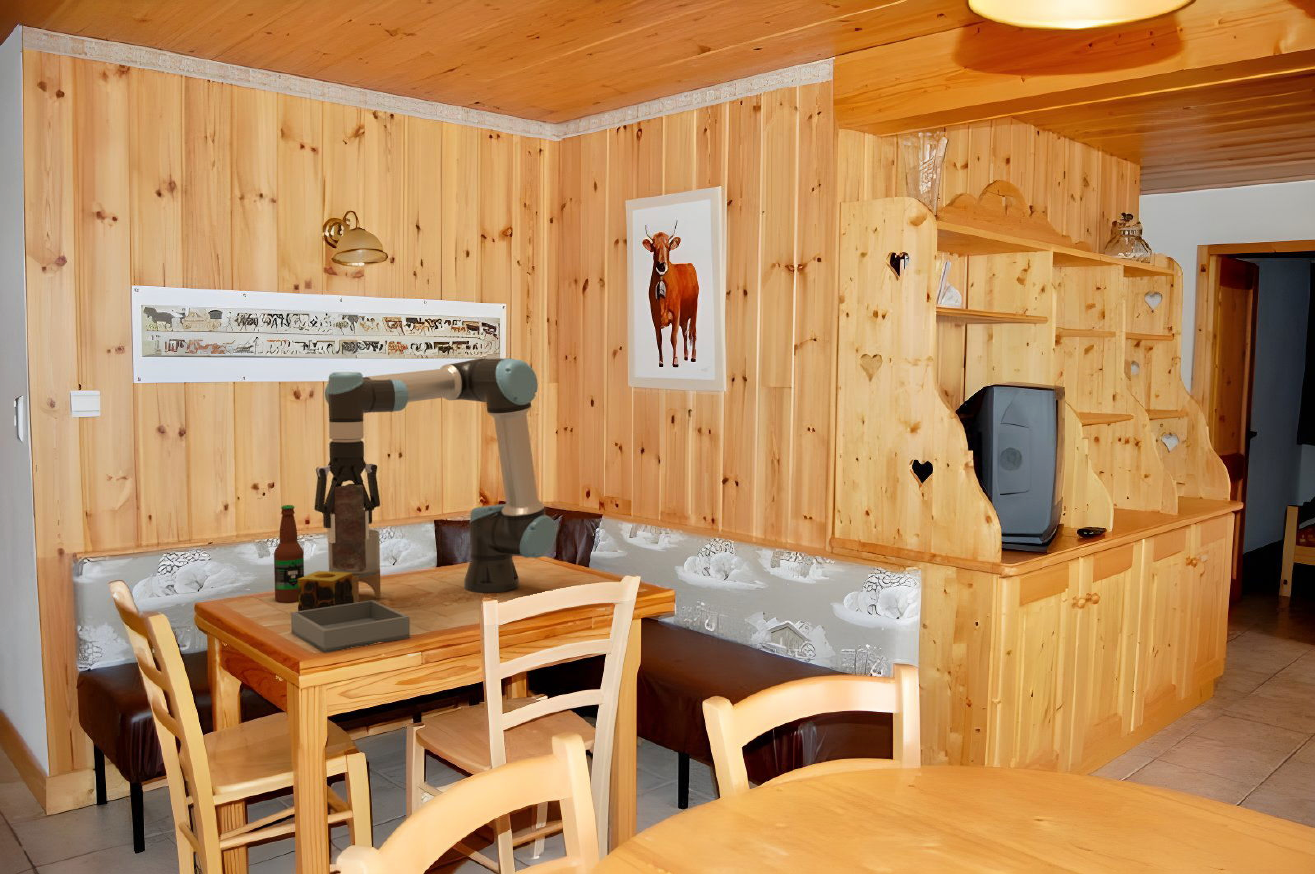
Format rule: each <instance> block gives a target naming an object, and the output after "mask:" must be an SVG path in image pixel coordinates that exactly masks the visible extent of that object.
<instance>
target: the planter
mask: <svg viewBox="0 0 1315 874" xmlns="http://www.w3.org/2000/svg"><path fill="white" fill-rule="evenodd" d="M380 537H381V536H380V531H379V530H377V529H373V528H369V539H365V550H366V569H365V570H364V571H362V572H356V571H349V570H339V569H336V568H334V567H333V562H332V543H330V542H328V541H327V547H328V549H327V552H328V553H327V554H328V571H330V572H349V573H353V578H352V580H353V582H352V585H353V596H354V598H353V599H354V603H356V602H360V586H359V585H360V584H359V583H360V582H361V583H365V584H366V585H368V586H369V587H370V588H371V589H372V590H373V592H374V595H375V596H374V598H375V599H381V597H382V596H381V554H380V553H381V552H380V551H381V550H380V549H381V548H380V547H381V546H380V545H381V543H380Z"/></svg>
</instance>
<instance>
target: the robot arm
mask: <svg viewBox="0 0 1315 874" xmlns="http://www.w3.org/2000/svg"><path fill="white" fill-rule="evenodd" d="M538 386H539V384H538V378H537V374H536V372H535V371H534V369H533V368H532V366H531V365H530V364H528V363H527V362H526V361H524V360H522V359H515V358H510V357H509V358H506V357H505V358H485V357H484V358H476V359H471V360H470V359H469V360H464V361H461V362H455V363H447V364H443V365H442V366H441V367H440V368H438V369H437V368H436V369H435V368H434V369H429V370H428V369H426V370H419V371H418V370H415V371H408V372H399V373H387V374H379V375H370V376H364V375H363V374H362V373H361V372H359V371H345V372H344V371H335V372H333V371H332V373H330V374H329V376H328V382H327V384H326V387H325V389H324V398H325V401H326V403H327V404H328V435H329V438H328V439H330V440H331V441H329V443H328V445H329V447H328V449H329V452H328V453H329V462H328V464H327V465H326V466H322V467H319V466H318V467H316V469H315V472H316V477H317V481H316V489H315V490H316V491H315V500H314V510H315V511H316V512H318V513H319V512H320V513H322V515H323V517H322V520H323V521H322V523H323V528H325V529H327V534H326V537H327V543H328V542H330V543H335V514H332V513H331V512H332V509H333V506H334V504H335V487H338V486H343V483H345V482H348V481H350V482H352V484H354V485H363V496H364V526H365V539H369V529H370V525H372V523H373V511H375V508H379V507H380V505H381V500H380V492H379V486H378V479H377V471H378V465H377V464H374V463H366V460H365V442H364V441H363V440H362V439H364V438H365V437H364V435H365V430H364V429H365V428H364V426H365V425H364V414H367V413H394V412H400V411H402V410H404V409H405V408H406V407H407V405H408V403H412V402H420V401H421V402H422V401H427V400H435V399H443V398H444V399H445V400H447V401H457V400H458V401H460V400H462V401H472V402H479V403H480V402H481V403H485V405H486V412H487V414H488V415H490V416H491V417H492V418H493V420H494V428H495V434H496V442H497V450H498V456H499V462H500V469H501V477H502V485H503V491H504V498H505V503H504V504H503V503H502V504H492V505H491V504H490V505H483V506H479V507H478V506H477V507H474V508H473V509H472V510H471V511H470V513H469V514H470V516H469V517H470V518H469V520H470V521H469V544H470V545H469V546H470V547H469V549H470V550H469V551H470V553H469V554H470V561H469V564H468V566H467V570H466V574H465V577H464V589H465V590H466V591H469V592H475V593H483V594H484V593H485V594H489V593H490V594H491V593H493V594H494V593H495V594H496V593H504V592H511V591H513V590H517V589H518V588H519V587H520V579H519V576H518V571H517V569H516V566H515V563H514V559H513V555H514V556H519V557H523V558H526V559H528V558H529V559H530V558H533V559H536V558H537V559H539V558H542V557H543V556H545V555H546V554H548V553H549V551H551V549H552V547H553V545H554V544H555V541H556V538H557V524H556V521H555V520H554V519H553V518H551V516H549V515H546V508H545V504H544V503H543V502H542V501H540V500H539V498H538V491H537V483H536V476H535V475H536V474H535V467H534V461H533V460H534V459H533V453H532V445H531V436H530V431H529V422H528V412H529V411H530V410H531V408H532V401H533V400H534V399H535V398H536V393H537V392H538V388H539V387H538ZM364 470H365V473H366V478H367V484H368V491H369V494H368V491H367V488H366V487H365V484H364V479H363V477H362V473H363V472H364ZM329 472H330V473H331V474H332V479H331V480H330V481H331V485H330V488H329V490H328V493H327V492H326V491H327V483H328V476H329ZM331 488H334V489H333V490H331ZM326 493H327V494H326ZM326 495H327V496H326ZM487 592H488V593H487Z"/></svg>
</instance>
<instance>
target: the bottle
mask: <svg viewBox="0 0 1315 874" xmlns="http://www.w3.org/2000/svg"><path fill="white" fill-rule="evenodd" d="M280 509H281V513H280V514H281V515H282V516H281V521H280V524H279V525H280V526H279V542H278V545H277V547H276V548H275V549H274V553H273V565H274V568H273V569H274V573H273V574H274V599H275V601H276V602H277V603H283V604H290V603H299V594H298V592H299V585H298V579H299V578H302V577H304V576H305V561H304V559H305V556H304V555H305V554H304V549H303V548H302V546H301V544H300V543H299V541H298V529H297V528H298V527H297V522H296V517H295V516H294V514H295V513H296V512H295V510H294V509H295V505H293V504H285V505H282V506H281V507H280Z"/></svg>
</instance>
